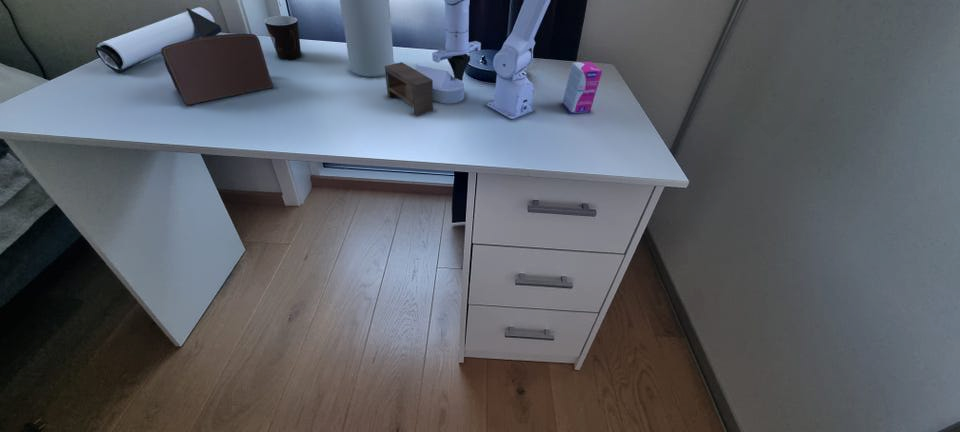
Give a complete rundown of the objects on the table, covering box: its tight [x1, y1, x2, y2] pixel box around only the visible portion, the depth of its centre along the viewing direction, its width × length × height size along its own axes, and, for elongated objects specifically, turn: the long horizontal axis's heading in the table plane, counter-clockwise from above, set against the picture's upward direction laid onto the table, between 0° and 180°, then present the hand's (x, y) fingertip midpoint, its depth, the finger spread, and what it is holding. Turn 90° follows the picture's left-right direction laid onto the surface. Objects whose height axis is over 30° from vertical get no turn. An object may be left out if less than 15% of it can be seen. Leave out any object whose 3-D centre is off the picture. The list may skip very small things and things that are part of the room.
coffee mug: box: [263, 15, 302, 61], centre depth 114 cm, size 12×9×10 cm
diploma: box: [95, 6, 223, 74], centre depth 111 cm, size 35×9×14 cm
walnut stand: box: [385, 62, 434, 117], centre depth 98 cm, size 13×5×8 cm, turn 42°
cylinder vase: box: [339, 0, 395, 78], centre depth 107 cm, size 12×12×25 cm
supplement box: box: [561, 61, 603, 114], centre depth 101 cm, size 6×6×12 cm
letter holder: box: [160, 33, 274, 107], centre depth 95 cm, size 10×20×14 cm, turn 130°
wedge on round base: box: [414, 64, 465, 105], centre depth 104 cm, size 9×7×13 cm
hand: (457, 82), depth 107 cm, fingers closed, pressing on wedge on round base
